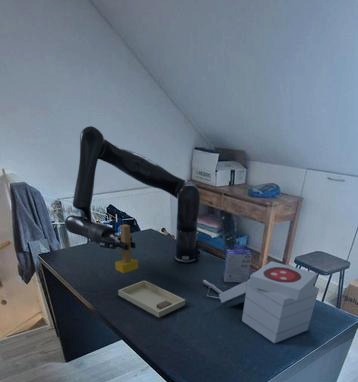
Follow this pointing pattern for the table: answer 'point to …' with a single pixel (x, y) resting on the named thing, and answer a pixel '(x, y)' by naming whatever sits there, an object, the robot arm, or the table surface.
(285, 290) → the pizza boxes
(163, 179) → the robot arm
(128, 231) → the peg stand
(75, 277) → the table surface
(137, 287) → the tray
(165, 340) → the table surface
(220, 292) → the crossbow
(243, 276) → the ink cartridge box
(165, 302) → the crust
